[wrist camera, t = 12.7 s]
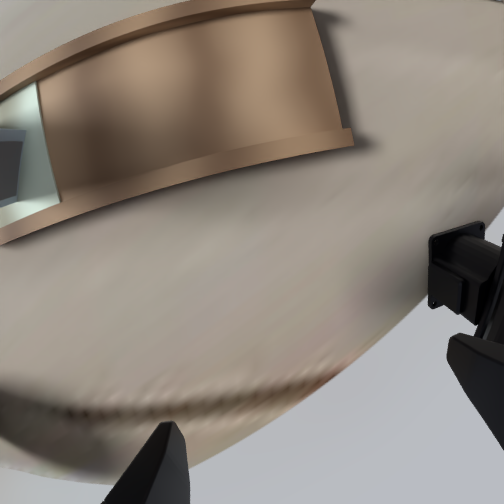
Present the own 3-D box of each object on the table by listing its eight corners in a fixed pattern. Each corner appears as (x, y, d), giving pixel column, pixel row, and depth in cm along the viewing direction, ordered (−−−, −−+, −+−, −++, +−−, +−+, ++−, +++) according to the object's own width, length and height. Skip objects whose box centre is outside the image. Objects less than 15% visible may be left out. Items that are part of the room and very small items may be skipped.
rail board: (298, 6, 16) (312, -16, 13) (333, 145, 19) (355, 145, 16) (-36, 127, 15) (-63, 127, 12) (-9, 246, 18) (-34, 260, 15)
